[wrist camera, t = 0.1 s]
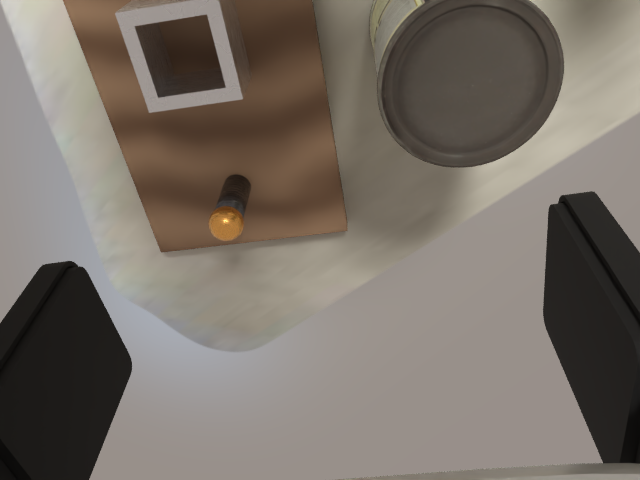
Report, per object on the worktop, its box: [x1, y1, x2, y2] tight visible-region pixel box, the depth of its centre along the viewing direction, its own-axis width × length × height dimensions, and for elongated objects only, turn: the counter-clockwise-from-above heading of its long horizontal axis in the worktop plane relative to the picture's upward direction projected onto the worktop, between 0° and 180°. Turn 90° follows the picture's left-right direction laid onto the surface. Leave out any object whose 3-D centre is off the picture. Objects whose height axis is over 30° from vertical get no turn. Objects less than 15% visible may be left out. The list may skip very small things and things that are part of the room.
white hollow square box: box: [115, 0, 252, 113], centre depth 41 cm, size 7×7×5 cm
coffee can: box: [369, 0, 564, 167], centre depth 38 cm, size 10×10×14 cm
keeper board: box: [63, 0, 347, 252], centre depth 48 cm, size 24×18×2 cm
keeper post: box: [208, 174, 251, 241], centre depth 48 cm, size 3×3×7 cm
